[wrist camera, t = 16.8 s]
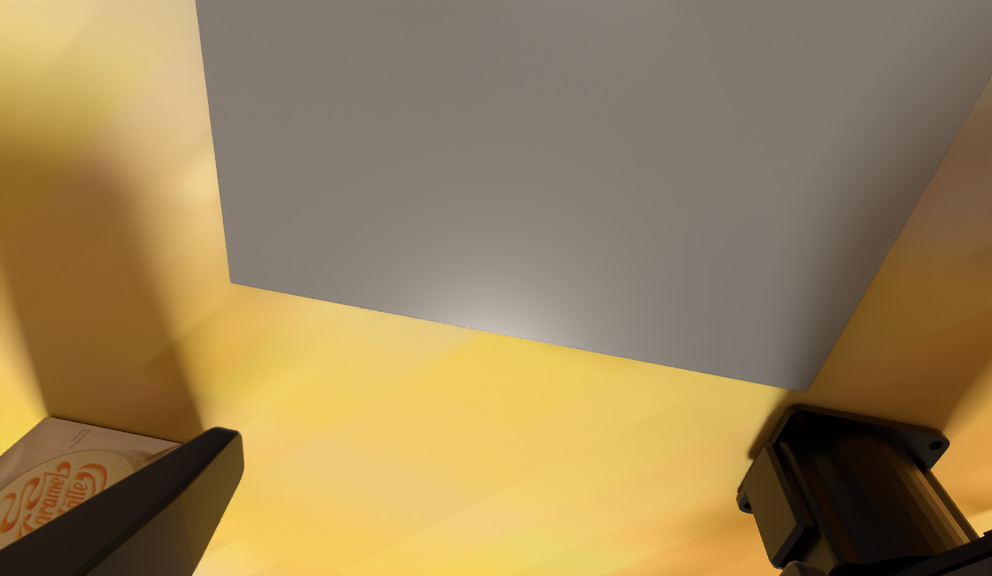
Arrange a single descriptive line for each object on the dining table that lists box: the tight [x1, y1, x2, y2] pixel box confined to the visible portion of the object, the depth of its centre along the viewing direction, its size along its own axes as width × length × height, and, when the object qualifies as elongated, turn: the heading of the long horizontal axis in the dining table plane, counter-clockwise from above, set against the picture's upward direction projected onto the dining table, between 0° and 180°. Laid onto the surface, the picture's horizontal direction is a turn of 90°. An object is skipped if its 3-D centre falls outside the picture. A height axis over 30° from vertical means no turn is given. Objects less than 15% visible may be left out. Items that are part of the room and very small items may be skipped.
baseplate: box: [195, 0, 992, 393], centre depth 15 cm, size 24×22×4 cm
